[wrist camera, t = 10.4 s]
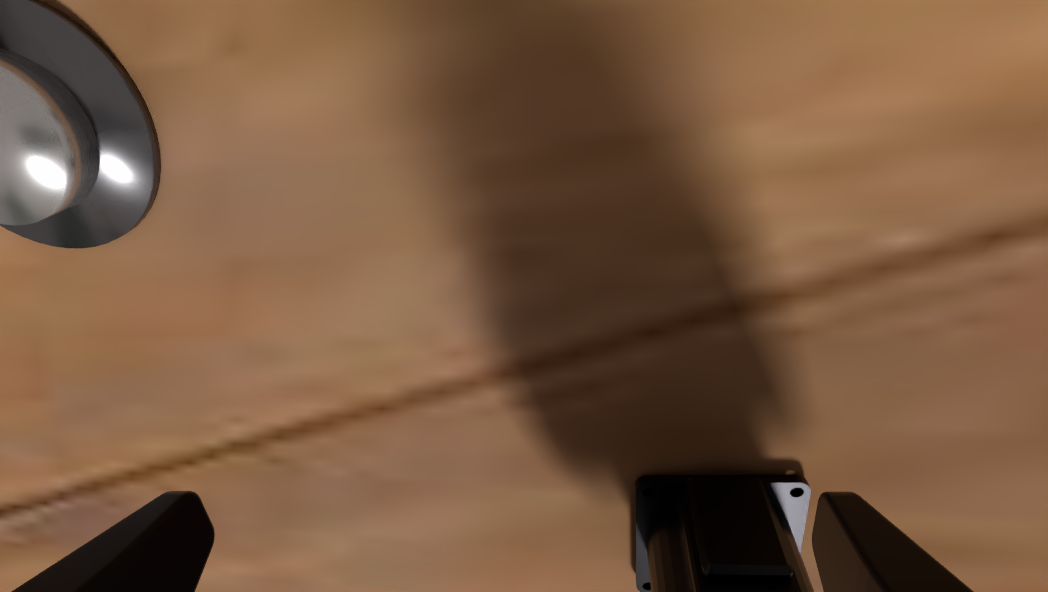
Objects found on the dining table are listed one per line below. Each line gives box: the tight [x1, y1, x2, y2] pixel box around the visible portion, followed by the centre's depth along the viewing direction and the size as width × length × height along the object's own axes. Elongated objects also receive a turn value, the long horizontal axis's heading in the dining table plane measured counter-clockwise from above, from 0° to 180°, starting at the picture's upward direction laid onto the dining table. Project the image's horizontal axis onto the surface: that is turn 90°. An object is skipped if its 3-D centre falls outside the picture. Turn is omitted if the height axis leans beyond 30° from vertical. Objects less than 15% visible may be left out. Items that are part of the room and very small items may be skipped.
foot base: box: [0, 0, 161, 248], centre depth 19 cm, size 8×8×1 cm
